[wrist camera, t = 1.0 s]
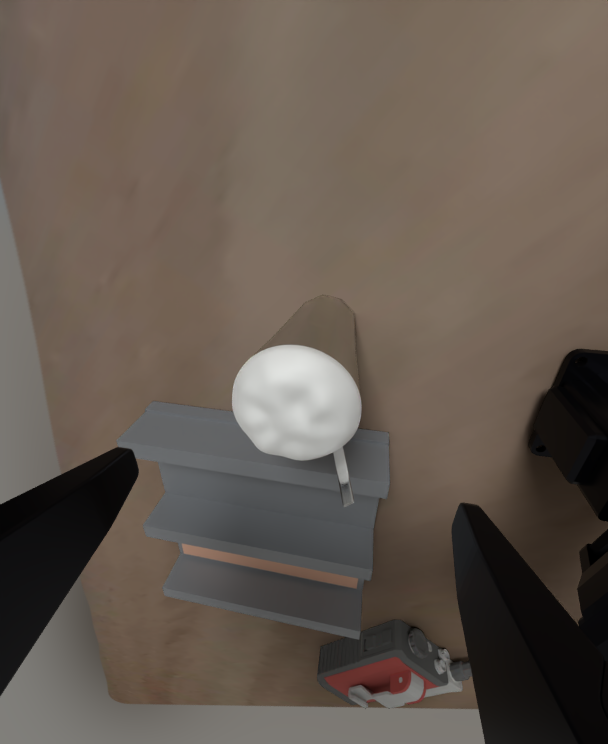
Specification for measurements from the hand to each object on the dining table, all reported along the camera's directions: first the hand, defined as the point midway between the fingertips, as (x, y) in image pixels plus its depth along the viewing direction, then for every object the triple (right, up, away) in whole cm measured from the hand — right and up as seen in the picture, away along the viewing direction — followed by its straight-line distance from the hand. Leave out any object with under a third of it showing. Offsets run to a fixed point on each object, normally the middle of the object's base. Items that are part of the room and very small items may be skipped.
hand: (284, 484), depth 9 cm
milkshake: (+2, +5, +10) cm, 11 cm away
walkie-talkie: (+11, -23, +24) cm, 35 cm away
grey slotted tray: (-2, -7, +18) cm, 19 cm away
